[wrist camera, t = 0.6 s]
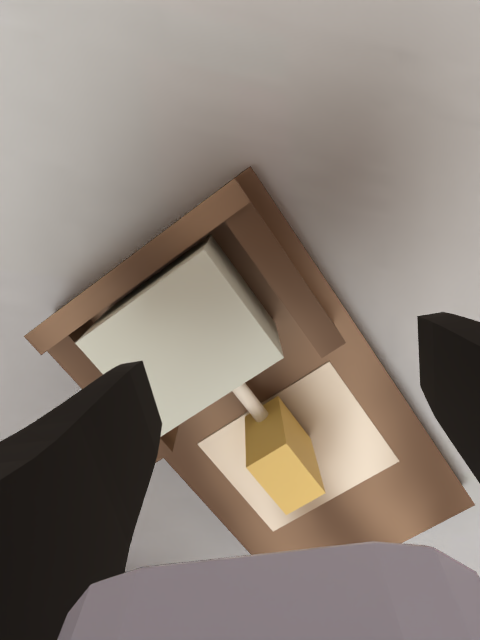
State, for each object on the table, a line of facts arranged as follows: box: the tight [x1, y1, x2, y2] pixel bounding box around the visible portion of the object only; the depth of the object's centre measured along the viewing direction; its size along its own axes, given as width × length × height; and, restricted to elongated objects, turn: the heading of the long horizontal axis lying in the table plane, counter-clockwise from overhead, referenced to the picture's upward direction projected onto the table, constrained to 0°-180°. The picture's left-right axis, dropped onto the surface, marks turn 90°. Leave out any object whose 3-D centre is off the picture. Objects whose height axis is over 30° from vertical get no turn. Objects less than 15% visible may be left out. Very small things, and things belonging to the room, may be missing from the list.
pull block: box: [75, 235, 325, 515], centre depth 19 cm, size 6×11×4 cm, turn 35°
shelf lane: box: [24, 166, 475, 555], centre depth 22 cm, size 12×22×4 cm, turn 35°
